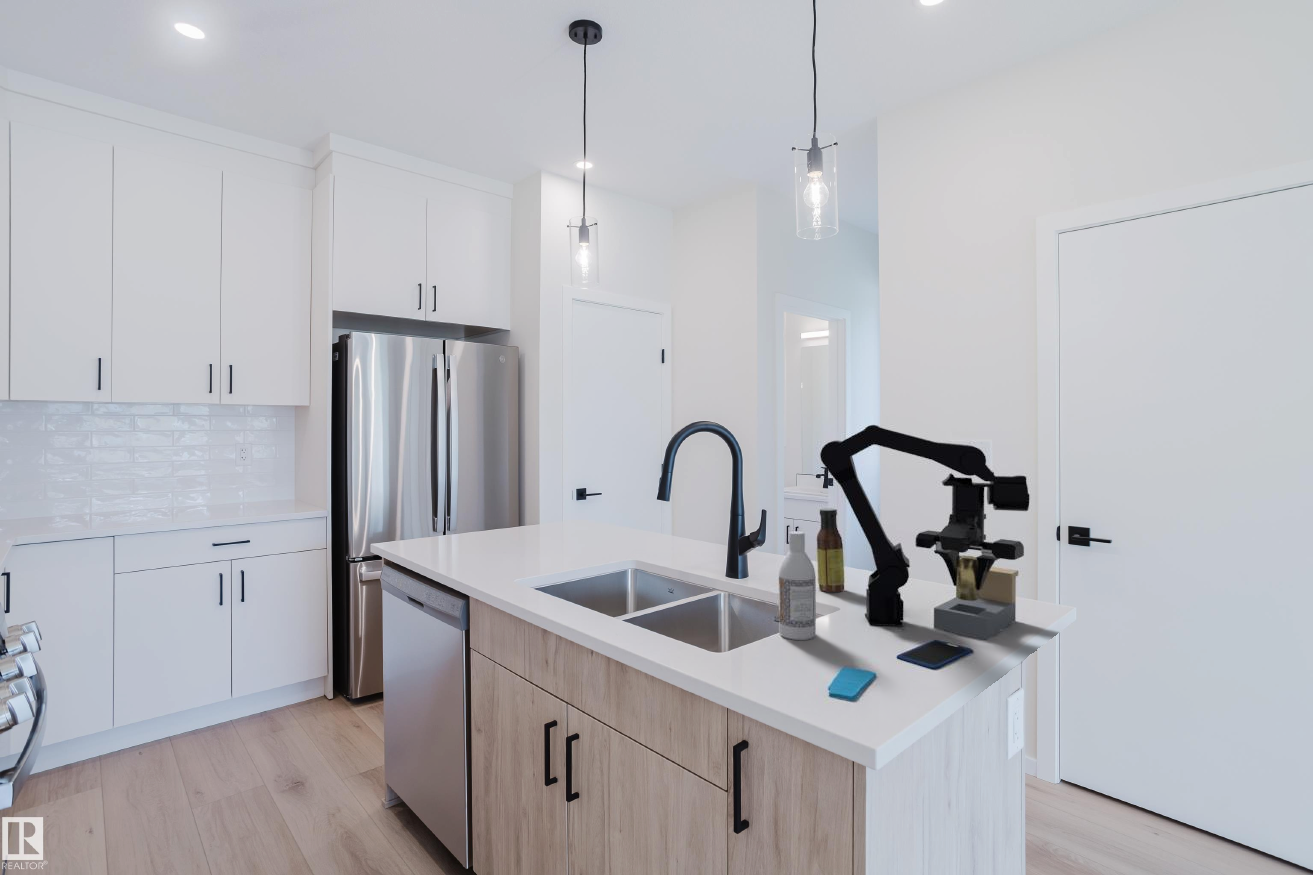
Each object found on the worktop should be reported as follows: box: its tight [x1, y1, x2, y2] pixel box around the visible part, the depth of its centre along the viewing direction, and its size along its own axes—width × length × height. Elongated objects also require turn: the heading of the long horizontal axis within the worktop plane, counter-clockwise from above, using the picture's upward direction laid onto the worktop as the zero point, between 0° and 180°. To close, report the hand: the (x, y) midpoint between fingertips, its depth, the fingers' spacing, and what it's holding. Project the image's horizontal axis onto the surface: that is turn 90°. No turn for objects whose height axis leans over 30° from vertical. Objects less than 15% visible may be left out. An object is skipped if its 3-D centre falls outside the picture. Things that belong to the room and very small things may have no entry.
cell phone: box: [896, 639, 974, 671], centre depth 115 cm, size 7×14×1 cm, turn 128°
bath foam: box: [778, 530, 817, 641], centre depth 126 cm, size 7×7×20 cm
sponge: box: [827, 666, 877, 702], centre depth 103 cm, size 2×12×6 cm
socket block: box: [933, 566, 1019, 641], centre depth 132 cm, size 16×11×10 cm
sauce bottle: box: [816, 507, 845, 593], centre depth 159 cm, size 6×6×20 cm
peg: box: [955, 555, 979, 601], centre depth 129 cm, size 4×4×8 cm
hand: (967, 587), depth 129 cm, fingers closed on peg, 4 cm apart
